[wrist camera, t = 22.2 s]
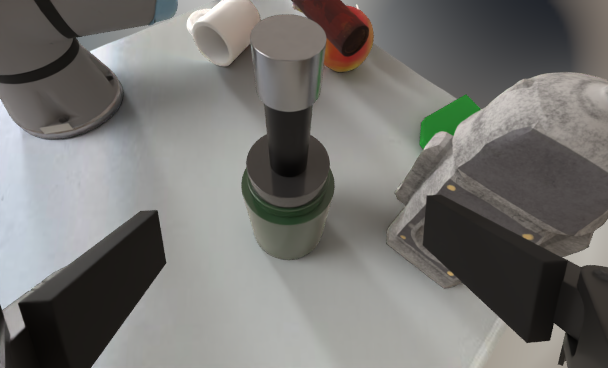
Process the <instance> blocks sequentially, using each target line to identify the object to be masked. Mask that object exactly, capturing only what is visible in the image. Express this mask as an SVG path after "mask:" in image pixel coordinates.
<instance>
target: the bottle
mask: <svg viewBox="0 0 608 368" xmlns="http://www.w3.org/2000/svg"><path fill="white" fill-rule="evenodd" d="M334 188H335V185H334V177H333V174H332V171H331V169H330V161H329V156H328V153H327V151H326V149H325V148H324V146H323V145H322V144H321V143H320V142H319V141H318V140H317V139H316V138H314V137H313V136H311V135H310V139H309V149H308V160H307V166H306V168H305V170H304V171H303V172H302V173H301V174H299V175H297V176H294V177H283V176H280V175H278V174H277V173H275V172H274V171H273V169H272V168H271V165H270V157H269V147H268V137H267V135H265V136H263V137H261V138H260V139H259V140H258V141H256V143H255V144H254V145H253V146H252V148H251V149H250V151H249V153H248V156H247V161H246V169H245V171H244V174H243V177H242V194H243V197H244V201H245V204H246V208H247V211H248V215H249V218H250V222H251V225H252V228H253V232H254V235H255V239H256V241H257V243H258V244H259V246H260V247H261V248H262V249H263V250H264V251H265V252H266V253H267V254H269V255H271V256H273V257H275V258H278V259H283V260H293V259H298V258H301V257H303V256H305V255H307V254H309V253H310V252H311V251H312V250H313V249H315V247H316V246H317V245H318V243H319V242H320V239H321V237H322V233H323V230H324V226H325V223H326V219H327V215H328V212H329V208H330V205H331V201H332V197H333V194H334Z"/></svg>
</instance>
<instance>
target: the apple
mask: <svg viewBox="0 0 608 368" xmlns="http://www.w3.org/2000/svg"><path fill="white" fill-rule="evenodd" d="M347 7H348V8H349V9H350V10H351V11H352V12H353V13H354V14H355V15H356V16H357V17H358V18H359V19H360V20H361V21H362V22H363V23H364V24H365V25H366V26H367V27H368V28H369V36H368V39H367V41H366V43H365V44H364V46H363V47H362V48H361V49H360V50H359V51H358V52H357V53H356V54H354V55H352V56H349V57H345V56H343V55H342V54H341V53H340V52H339V51H338V49H337V48H336V47H335V46H334V45H333V44H332V43H331V42H330V41H329V40H328V39H327V38H326V39H327V41H326V49H325V58H324V65H326V66H327V67H328V68H330V69H332V70H334V71H336V72H344V71H349V70H352V69H355V68H357V67H358V66H359V65H361V64H362V63H363V61H364V60H365V59H366V58H367V56H368V54H369V53H370V51H371V48H372V45H373V38H374V35H373V28H372V25H371V22H370V20H369V19H368V18H367V16H366V15H365V14H364V13H363V12H362V11H361V10H359V9H357V8H354V7H351V6H347Z"/></svg>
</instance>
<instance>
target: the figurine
mask: <svg viewBox="0 0 608 368" xmlns="http://www.w3.org/2000/svg"><path fill="white" fill-rule="evenodd" d="M395 195H396V197H397V199H398V200H399V201H400V202H402V203H403V204H405V207H404V209H403V210H402V211H401V212H400V214H399V215H398V216H397V217H396V219H395V220H394V221H393V222H392V224H391V225H390V226H389V228H388V229H387V238H386V244H388V245H389V246H390V247H391V248H393V249H394V250H395V251H397V252H398V253H399V254H401V255H402V256H403V257H404V258H405V259H407V260H408V261H409V262H411V263H412V264H414V265H415V266H416V267H417V268H419V269H420V270H421V271H422V272H423V273H425V274H426V275H427V276H428V277H430V278H431V279H432V280H434V281H435V282H436V283H438V284H439V285H440V286H442V287H443V288H450V287H453V286H455V285H458V284H461V283H462V282H461V281H460V280H459V279H458V278H457V277H456V276H455V275H454V274H453V273H452V272H451V271H449V270H448V269H447V268H446V267H445V266H444V265H443V264H442V263H441V262H440V261H439V260H438V259H437V258H436V257H435V256H433V255H432V254H431V253H430V252H429V251H428V250H427V249H426V248H425V247H424V246H423V233H424V221H425V209H426V197H427V195H443V196H445V197H447V198H449V199H451V200H452V201H454V202H456V203H458V204H460V205H462V206H464V207H466V208H468V209H470V210H472V211H474V212H475V213H477V214H479V215H481V216H483V217H485V218H487V219H489V220H491V221H493V222H495V223H497V224H499V225H500V226H502V227H504V228H506V229H508V230H510V231H512V232H514V233H516V234H518V235H520V236H522V237H523V238H526V239H528V240H529V241H531V242H533V243H535V244H537V245H539V246H541V247H543V248H545V249H547V250H548V251H551V252H553V253H554V254H556V255H558V256H560V257H564V256H567V255H570V254H573V253H577V252H579V251H582V250H584V249H586V248H588V247H589V244H590V240H591V238H592V236H593V233H594V231H595V230H596V229H597V228H599V227H601V226H602V225H603V224H604V223H605V222H606V220H607V219H608V80H606V79H603V78H599V77H596V76H592V75H587V74H583V73H568V72H562V73H548V74H542V75H539V76H535V77H533V78H530V79H523V80H520V81H519V82H518V83H516V84H515V85H514V86H513V87H511V88H509V89H507V90H506V91H504V92H503V93H502V94H501V95H499V96H498V97H497V98H495V99H494V100H493V101H492V102H490V103H489V105H488V106H487V107H485V108H483V109H482V110H480V111H478V112H476V113H474V114H473V115H471V116H470V117H468V118H467V119H465V120H464V121H462V122H461V123H460V124H459V125H458V126H457V128H456V131H455V134H454V136H452V135H451V134H449V133H447V132H443V131H441V132H439V133H436V134H435V135H434V136H433V137H432V139H431V140H430V141H429V142H428V143H427V145H426V146H425V148H424V149H423V151H422V153H421V154H420V156H419V157H418V159H417V160H416V162H415V164H414V165H413V167H412V170H410V172H409V173H408V175H407V176H406V178H405V180H404V181H403V182H402V183H401V184H400V185H399V187H398V189H397V190H396V191H395Z"/></svg>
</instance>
